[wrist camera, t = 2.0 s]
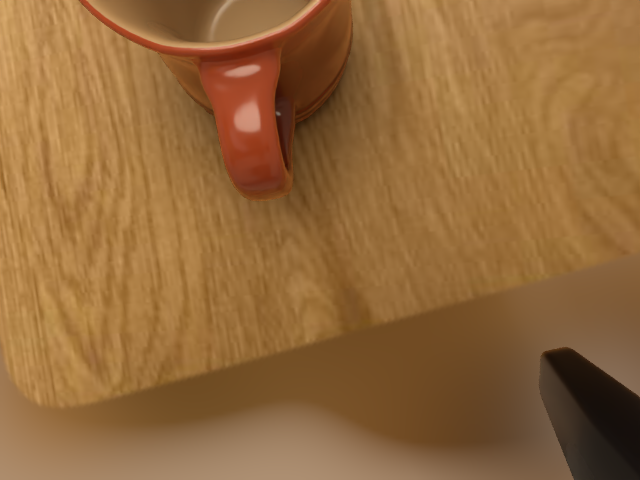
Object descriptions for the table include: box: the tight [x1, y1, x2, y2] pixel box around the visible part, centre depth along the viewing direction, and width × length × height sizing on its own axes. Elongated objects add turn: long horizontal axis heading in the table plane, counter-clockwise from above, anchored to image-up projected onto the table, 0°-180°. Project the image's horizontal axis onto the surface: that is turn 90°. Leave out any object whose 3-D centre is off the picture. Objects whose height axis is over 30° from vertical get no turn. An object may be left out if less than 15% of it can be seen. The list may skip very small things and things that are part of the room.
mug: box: [79, 0, 353, 201], centre depth 19 cm, size 12×9×10 cm
